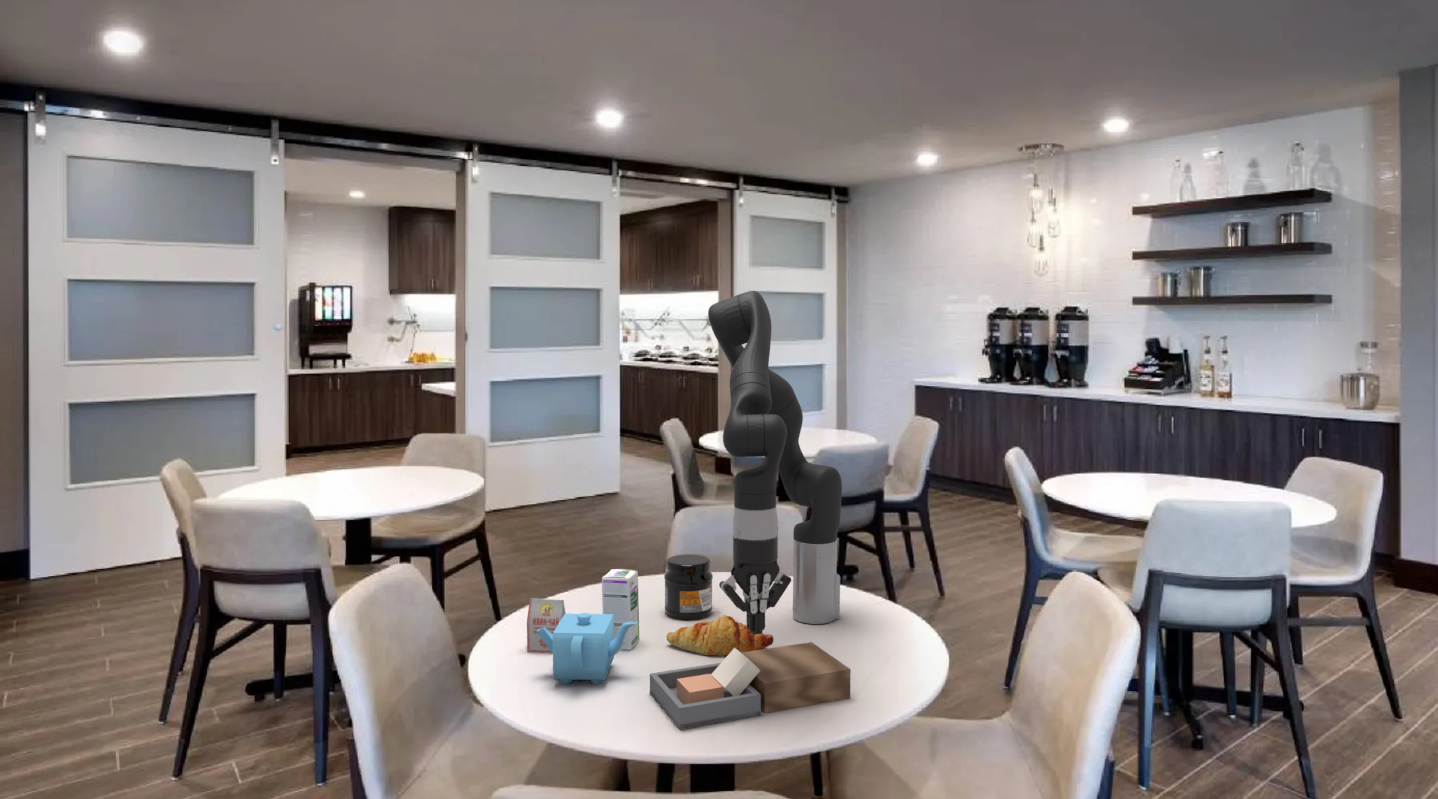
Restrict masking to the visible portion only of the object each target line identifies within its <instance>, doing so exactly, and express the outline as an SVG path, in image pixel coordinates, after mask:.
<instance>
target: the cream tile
mask: <svg viewBox="0 0 1438 799" xmlns="http://www.w3.org/2000/svg"><path fill="white" fill-rule="evenodd" d="M720 663H721V664H720V665H719V666H718V667H717V668H716V670H715V671H714V672H713V673H712V674H711V675H712V676H713V677H714V678H715V679H716V680H717V681H718V682H719V683H720V684H721V685H722V686H723V687H724V688H725V689H726V690H728V691H729V692H730V693H731V694H732V695H733V696H738V695H740V694H741V693H742V691H743V690H744V689H745V688H746V687H747V686H748V684H749V683H750V682H751V681H752V680H753V679H754V677H755V676H756V675H757V674H758V673H759V672H760V670H759V669H758V668H757V667H756V666H755V665H754V664H753V663H752V662H751V661H750V660H749V659H748V658H747V657H745V656H744V655H743V654H742V653H741V652H739V651H738V650H737V649H736V648H734V649H733V650H732V651H731V652H730V653H729V655H728V656H726V657H725V658H724V659H723V660H722V661H721V662H720Z"/></svg>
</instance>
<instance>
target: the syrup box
mask: <svg viewBox="0 0 1438 799" xmlns="http://www.w3.org/2000/svg"><path fill="white" fill-rule="evenodd" d="M638 571H639V570H634V569H627V568H615V569H612V568H611V569H610V571H608V572H607V573H605V574H604V575H603V576H602V577H601V592H602V593H601V595H602V596H601V597H602V599H601V600H602V614H613V615H614V639H615V638H616V636H617V634H618V631H619V628H620V627H621V625H622V624H623V623H626V622H637V623H636V624H634V625H633V626H631V627H630V628H629V629H628V630H627V632H626V634H625V637H624V640H623V643H622V646H621V648H620V650H621V651H631V650H632V649H633V647H635V646H636V644H637V643H638V642H639V641H640V617H639V616H640V614H639V613H640V612H639V611H640V610H639V608H640V606H639V574H638V573H639V572H638ZM620 650H619V651H620Z"/></svg>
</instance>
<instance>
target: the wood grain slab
mask: <svg viewBox="0 0 1438 799" xmlns="http://www.w3.org/2000/svg"><path fill="white" fill-rule="evenodd" d="M742 654H743V655H744V656H745V657H747V658H748V659H749V660H750V661H751V662H752V663H753V664H754V665H755V666H756V667H757V668H758V669H759V670H760V672H759V673H758V674H757V675H756V676H755V677H754V679H753V680H752V681H751V682H750V683H749V684H750V685H751V686H752V687H753V688H754V689H755V690H756V691H757V692H759V693H760V694H761V711H762V712H763V713H765V714H767V713H772V712H779V711H782V710H783V711H785V710H789V709H795V708H800V707H805V706H811V705H817V704H822V703H828V702H834V701H840V700H845V699H850V698H851V672H852V670H851V668H849V667H848V666H847V665H845V664H844V663H843V662H841V661H839V660H838V659H836V658H835V657H834V656H833V655H831V654H829V653H828V652H827V651H825V649H823V648H821V647H820V646H818V645H817V644H816V643H814V642H812V641H809V642H804V643H796V644H790V645H783V646H777V647H770V648H769V647H768V648H764V649H762V650H755V651H749V652H742Z"/></svg>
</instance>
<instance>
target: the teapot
mask: <svg viewBox="0 0 1438 799" xmlns="http://www.w3.org/2000/svg"><path fill="white" fill-rule="evenodd" d="M636 623H637V622H626V623H623V624H622V625H621V627H620V628H619V631H618V634H617V636H616V638H615V639H614V615H613V614H603V613H588V612H581V613H566V614H565V615H564V616H563V618H562V619H561V621H560V622H559V624H558V626H557V627H556V629H555V631H554V632H553V634H552V633H551V632H550V631H548V630H547V629H546V627H545V628H541V629H538V630H537V633H538V634H539V636H540V637H541V639H542V640H543V641H544V643H545V644H546V645H547V647H548V648H549V649H550V651H551V652H552V653H551V654H552V679H553V680H559V683H560V684H562V685H567V684H572V683H573V681H574V680H579V681H580V680H585V681H586V680H587V681H588V680H590V683H591V685H592V684H593V685H600V684H603V683H604V681H605V680H606V679H607V677H608V674H609V670H611V666H612V663H613V661H614V658H615V655H617V654H618V652H619V651H620V648H621V646H622V643H623V640H624V637H625V634H626V632H627V630H628V629H629V628H630V627H631V626H633V625H634V624H636Z"/></svg>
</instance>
